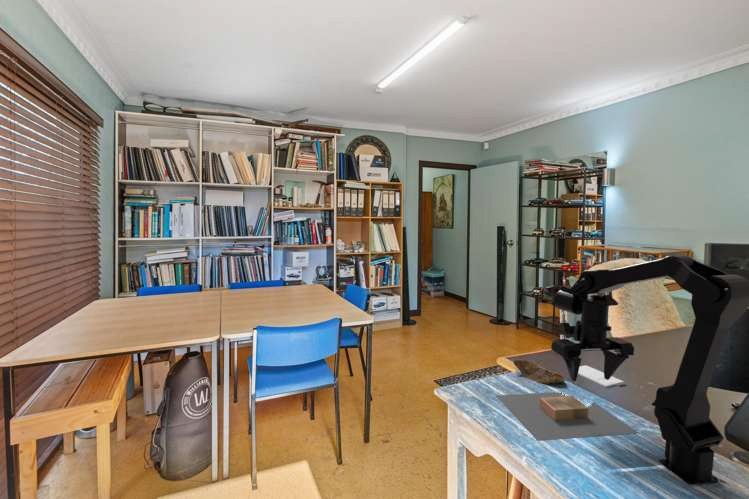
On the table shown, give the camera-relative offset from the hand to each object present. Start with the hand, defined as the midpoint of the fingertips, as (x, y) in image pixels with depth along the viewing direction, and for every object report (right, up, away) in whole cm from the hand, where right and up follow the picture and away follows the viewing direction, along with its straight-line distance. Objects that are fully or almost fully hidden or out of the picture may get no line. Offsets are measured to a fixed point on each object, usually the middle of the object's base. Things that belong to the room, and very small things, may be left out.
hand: (590, 379), depth 90 cm
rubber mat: (-8, -9, 0) cm, 11 cm away
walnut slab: (-2, -7, 0) cm, 7 cm away
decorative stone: (-3, -7, +21) cm, 22 cm away
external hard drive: (+14, -8, +21) cm, 27 cm away
